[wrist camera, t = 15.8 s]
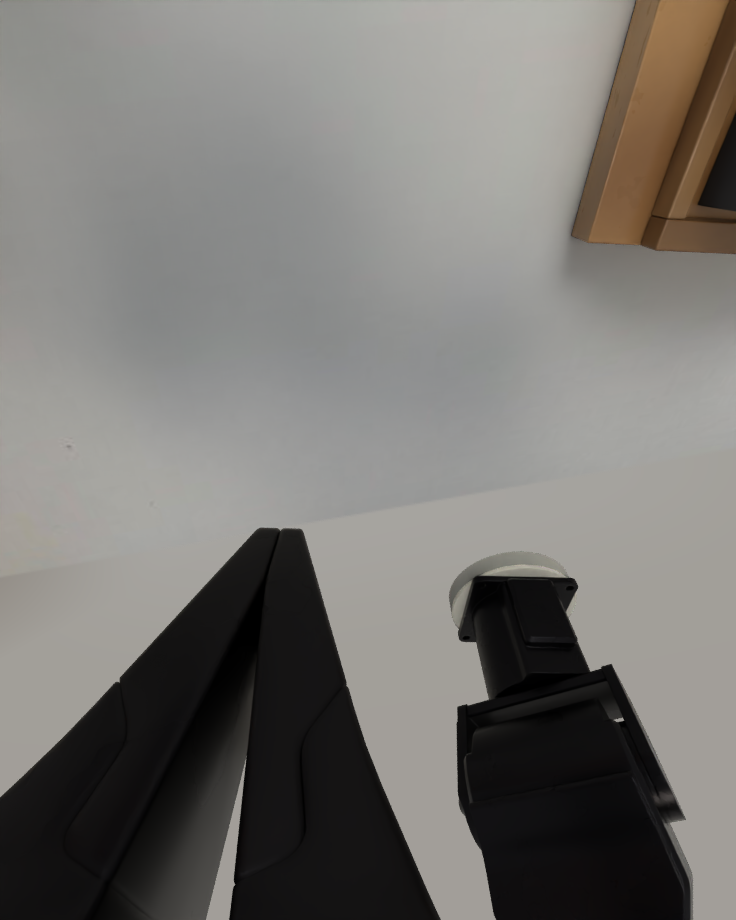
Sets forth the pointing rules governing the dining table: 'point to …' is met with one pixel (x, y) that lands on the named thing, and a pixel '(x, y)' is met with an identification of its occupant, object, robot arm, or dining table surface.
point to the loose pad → (723, 176)
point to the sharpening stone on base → (665, 132)
